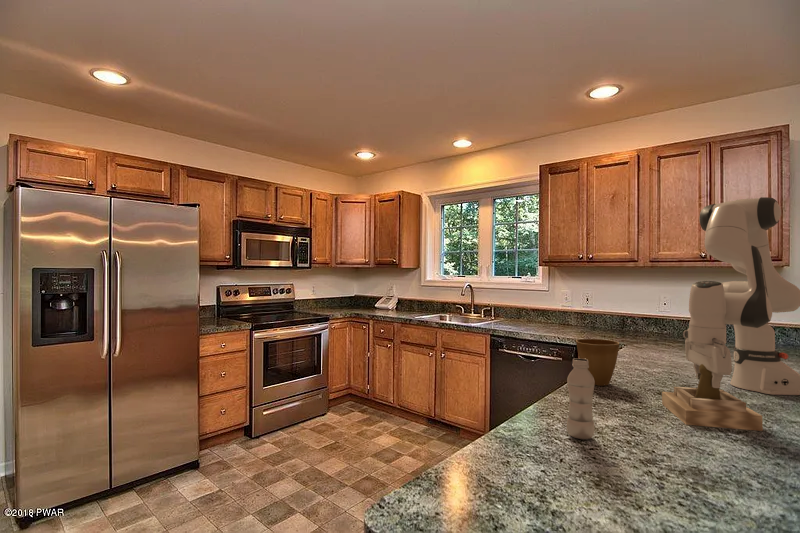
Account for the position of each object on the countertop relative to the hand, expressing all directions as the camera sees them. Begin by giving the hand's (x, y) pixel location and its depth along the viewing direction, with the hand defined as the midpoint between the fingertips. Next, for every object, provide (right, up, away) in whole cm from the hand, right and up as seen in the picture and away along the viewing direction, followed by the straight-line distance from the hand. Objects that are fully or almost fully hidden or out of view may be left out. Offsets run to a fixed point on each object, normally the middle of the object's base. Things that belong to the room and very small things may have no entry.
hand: (707, 383), depth 121 cm
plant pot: (-15, -10, +36) cm, 40 cm away
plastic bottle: (-44, -10, -15) cm, 48 cm away
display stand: (0, -10, 0) cm, 10 cm away
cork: (0, -5, 0) cm, 5 cm away
